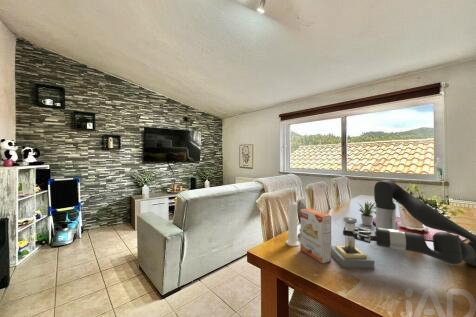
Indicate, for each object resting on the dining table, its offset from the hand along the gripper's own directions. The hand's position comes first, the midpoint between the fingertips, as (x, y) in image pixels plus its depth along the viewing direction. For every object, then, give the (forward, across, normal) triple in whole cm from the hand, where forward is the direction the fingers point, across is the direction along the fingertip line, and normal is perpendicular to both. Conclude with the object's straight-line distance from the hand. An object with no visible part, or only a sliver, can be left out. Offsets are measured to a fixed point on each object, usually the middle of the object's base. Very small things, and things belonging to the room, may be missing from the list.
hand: (343, 230), depth 90 cm
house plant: (-10, +61, -12) cm, 63 cm away
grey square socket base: (-2, 0, -13) cm, 13 cm away
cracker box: (+12, -5, -13) cm, 18 cm away
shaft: (-2, 0, -10) cm, 10 cm away
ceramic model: (+19, +17, -12) cm, 29 cm away
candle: (+25, +2, -12) cm, 28 cm away
